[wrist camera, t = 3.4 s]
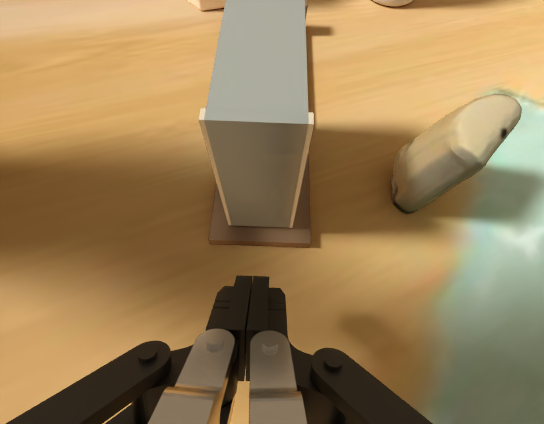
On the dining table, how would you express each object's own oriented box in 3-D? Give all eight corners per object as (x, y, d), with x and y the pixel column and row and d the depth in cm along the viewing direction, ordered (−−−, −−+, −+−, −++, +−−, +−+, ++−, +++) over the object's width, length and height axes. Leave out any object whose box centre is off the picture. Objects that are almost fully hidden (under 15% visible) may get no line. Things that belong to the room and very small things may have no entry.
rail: (210, 243, 21) (202, 226, 18) (240, 24, 32) (237, -7, 29) (309, 247, 21) (315, 231, 18) (303, 26, 32) (307, -4, 29)
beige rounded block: (453, 229, 21) (547, 166, 14) (382, 218, 22) (439, 151, 15) (445, 166, 24) (522, 86, 17) (382, 157, 24) (430, 74, 17)
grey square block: (228, 225, 20) (198, 119, 11) (240, 116, 24) (225, -22, 16) (292, 227, 20) (313, 124, 11) (292, 118, 24) (308, -18, 16)
